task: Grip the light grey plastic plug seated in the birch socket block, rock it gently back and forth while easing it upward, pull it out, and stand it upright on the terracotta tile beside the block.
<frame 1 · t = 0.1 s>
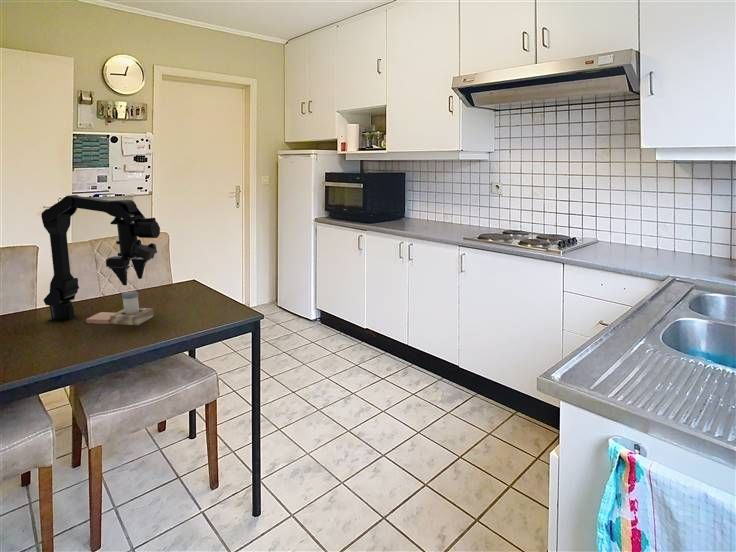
hand: (132, 282, 168), 14 cm above the table, fingers open, 9 cm apart
tile: (104, 319, 173), on the table
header: (132, 320, 173), on the table
plug: (131, 306, 171), in the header
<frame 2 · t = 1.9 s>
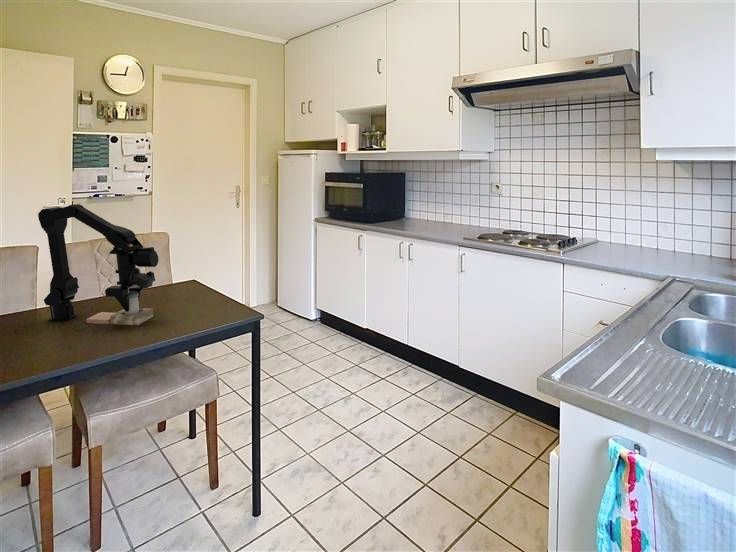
hand: (131, 309, 172), 4 cm above the table, fingers closed on plug, 5 cm apart
plug: (131, 306, 171), in the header, touching gripper
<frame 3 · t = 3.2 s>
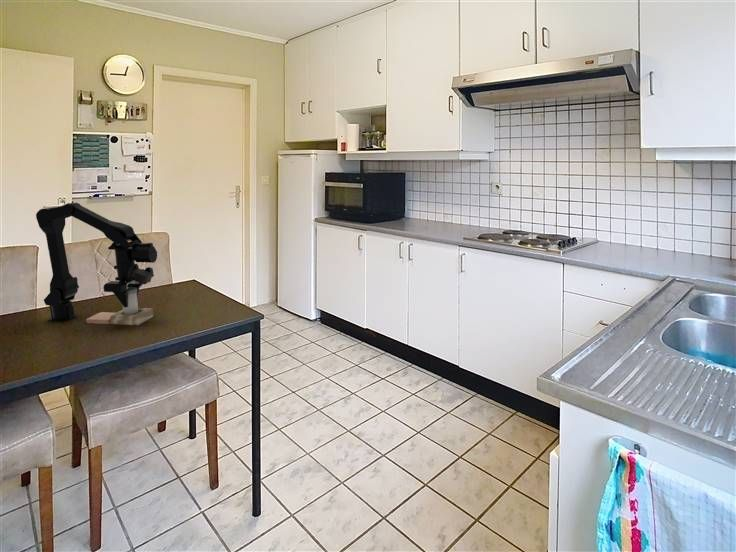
hand: (130, 305, 171), 6 cm above the table, fingers closed on plug, 5 cm apart
plug: (129, 302, 171), point 6 cm above the table, touching gripper
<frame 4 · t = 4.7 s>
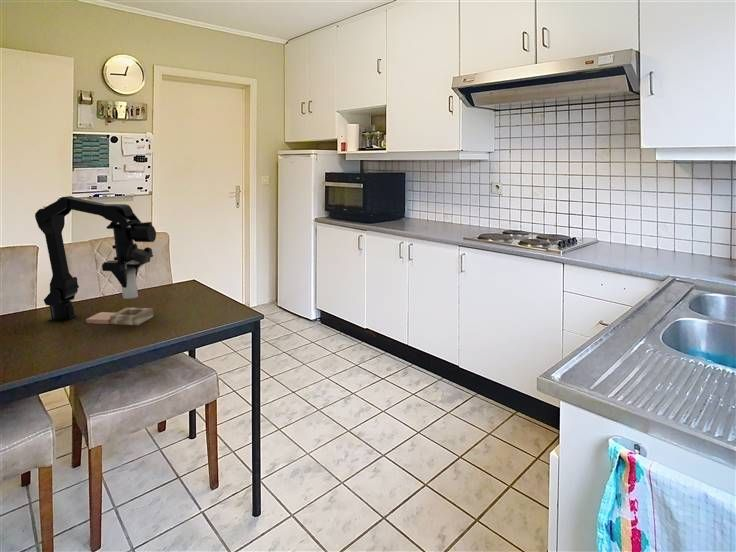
hand: (129, 285, 170), 13 cm above the table, fingers closed on plug, 5 cm apart
plug: (128, 283, 169), point 14 cm above the table, touching gripper
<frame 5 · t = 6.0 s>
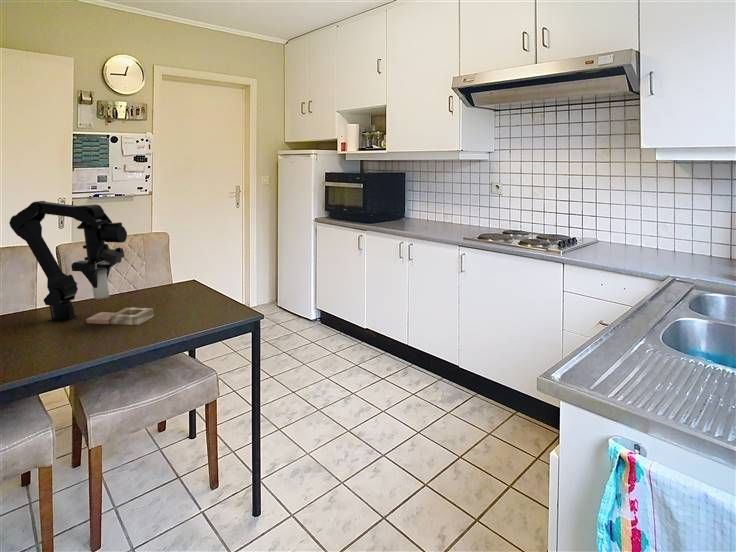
hand: (100, 285, 170), 13 cm above the table, fingers closed on plug, 5 cm apart
plug: (99, 283, 169), point 14 cm above the table, touching gripper
when the fingers open (6 cm above the table, at t = 7.4 s): plug stays where it is, resting on tile.
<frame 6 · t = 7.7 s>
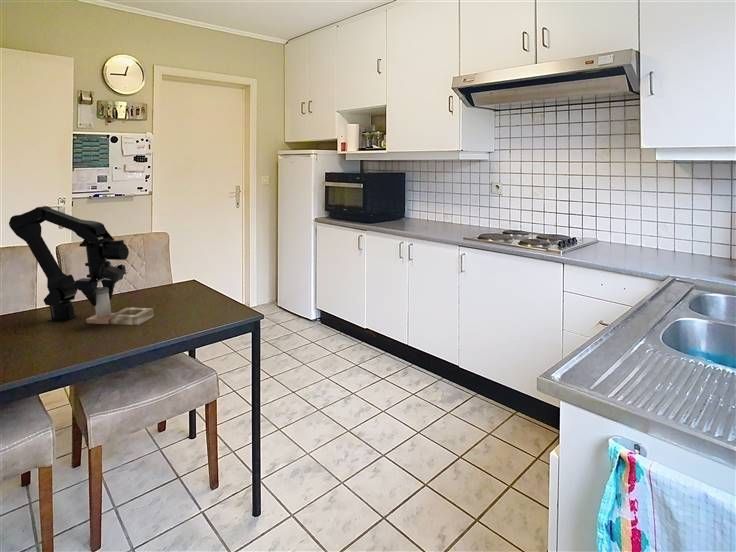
hand: (102, 302, 171), 6 cm above the table, fingers open, 8 cm apart
plug: (102, 302, 171), on the tile, point 6 cm above the table
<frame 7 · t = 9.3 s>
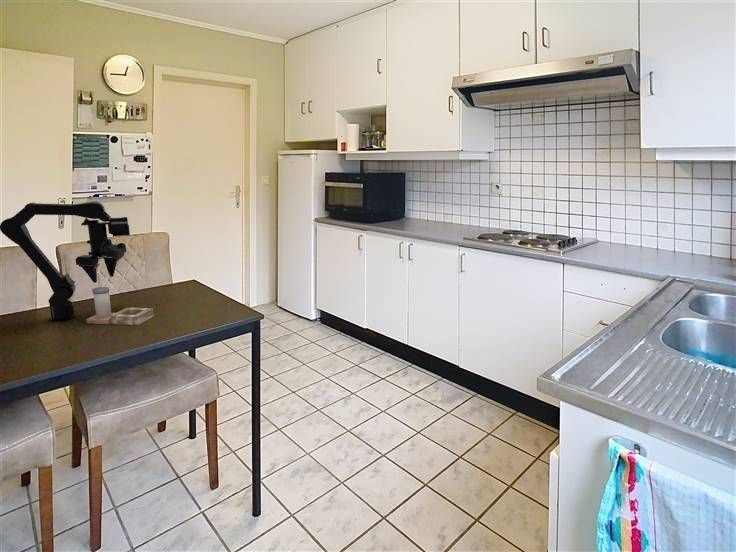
hand: (103, 279, 177), 13 cm above the table, fingers open, 9 cm apart
nothing on the table moved.
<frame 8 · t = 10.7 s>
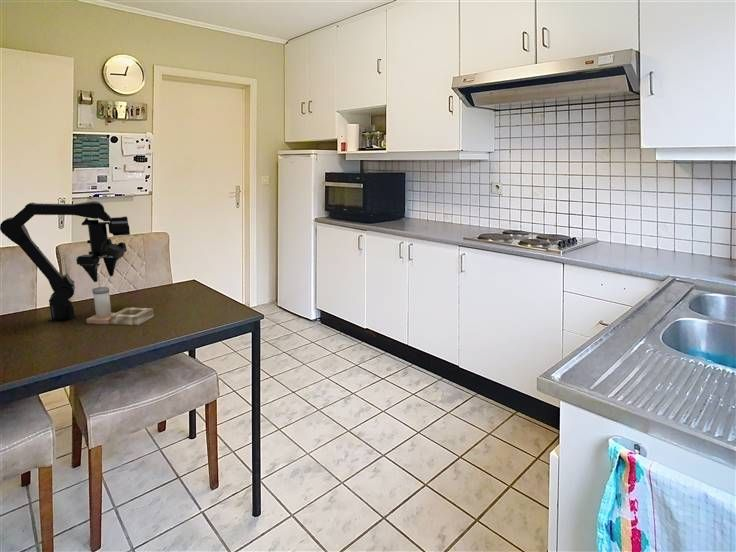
hand: (103, 278, 178), 13 cm above the table, fingers open, 9 cm apart
nothing on the table moved.
at the end: plug 0.0 cm off-centre on the tile, point 6.5 cm above the tile's base; plug tilted 0°; the gripper is holding nothing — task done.
